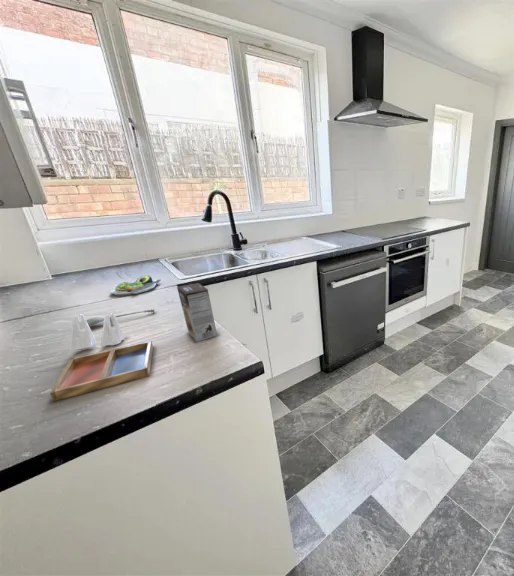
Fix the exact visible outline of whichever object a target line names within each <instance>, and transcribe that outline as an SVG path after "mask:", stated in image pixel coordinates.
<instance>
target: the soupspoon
mask: <svg viewBox="0 0 514 576" xmlns="http://www.w3.org/2000/svg"><path fill="white" fill-rule="evenodd" d="M140 313H153V314H155V308H153V309H147V310H146V309H145V310H142V311H134V312H130V313H123V314H119V315H115V317H116V318H119V317H120V318H121V317H124V316H130V315H135V314H140ZM104 319H105V317H91V318H88V319H86V321H87V323H88V325H89V327H90V328H91V327H92V326H94V325H97V324H99V323H102V322H104Z"/></svg>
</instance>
